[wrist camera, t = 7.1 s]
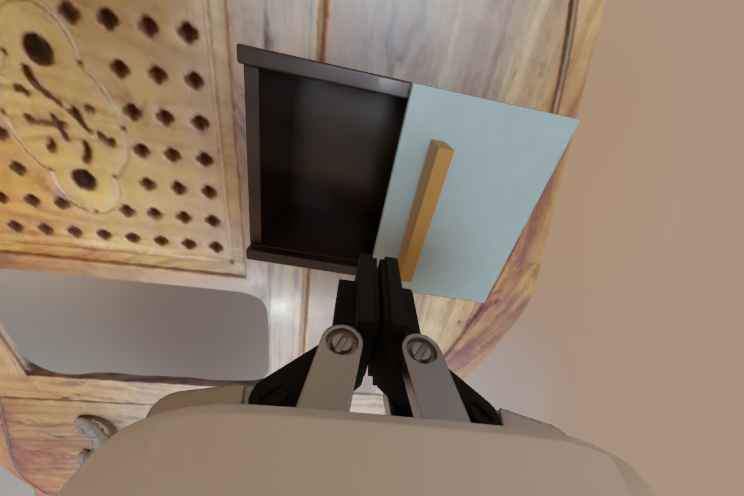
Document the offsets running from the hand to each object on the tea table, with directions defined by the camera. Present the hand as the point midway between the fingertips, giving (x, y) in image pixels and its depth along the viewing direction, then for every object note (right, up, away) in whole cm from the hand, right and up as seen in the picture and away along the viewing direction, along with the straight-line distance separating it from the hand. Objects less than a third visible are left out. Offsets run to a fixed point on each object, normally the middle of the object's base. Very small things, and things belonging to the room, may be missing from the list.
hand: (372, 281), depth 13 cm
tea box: (+1, +10, +13) cm, 16 cm away
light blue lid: (+5, +4, +5) cm, 8 cm away
